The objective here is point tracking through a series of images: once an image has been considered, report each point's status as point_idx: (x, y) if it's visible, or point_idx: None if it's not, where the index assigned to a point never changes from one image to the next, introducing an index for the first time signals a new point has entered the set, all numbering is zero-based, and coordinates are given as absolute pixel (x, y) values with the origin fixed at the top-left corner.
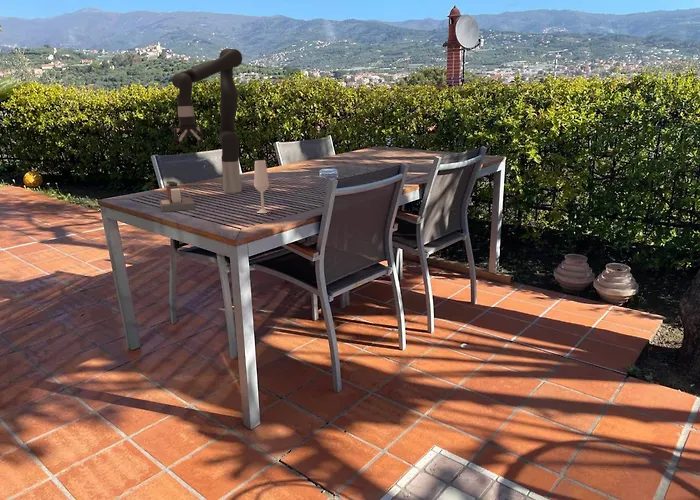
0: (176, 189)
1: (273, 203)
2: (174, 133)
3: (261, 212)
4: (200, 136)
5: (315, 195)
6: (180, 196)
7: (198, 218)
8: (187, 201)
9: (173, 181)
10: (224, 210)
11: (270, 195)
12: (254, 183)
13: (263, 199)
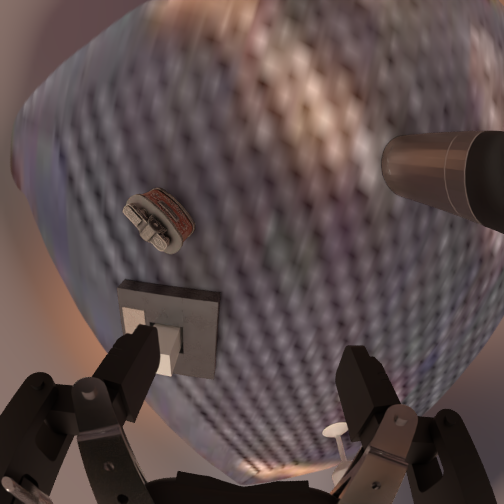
0: (159, 367)
1: (402, 375)
2: (25, 475)
3: (329, 436)
4: (426, 444)
5: (492, 327)
6: (175, 361)
7: (210, 425)
8: (198, 353)
9: (150, 236)
10: (280, 400)
11: (453, 288)
12: (333, 480)
13: (343, 450)
